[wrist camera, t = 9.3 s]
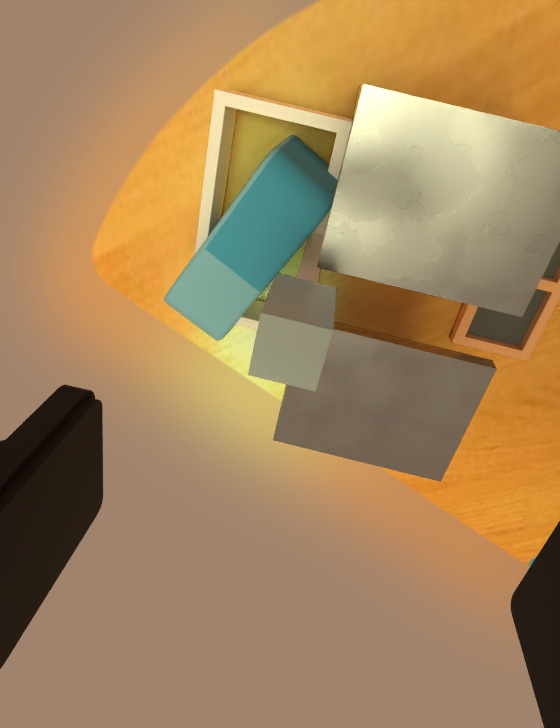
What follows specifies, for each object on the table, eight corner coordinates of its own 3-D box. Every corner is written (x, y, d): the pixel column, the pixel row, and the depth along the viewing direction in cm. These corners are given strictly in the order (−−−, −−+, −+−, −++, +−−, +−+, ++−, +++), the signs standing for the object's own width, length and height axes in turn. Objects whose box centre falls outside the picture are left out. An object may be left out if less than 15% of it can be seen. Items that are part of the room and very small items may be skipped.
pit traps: (601, 202, 36) (609, 206, 35) (523, 354, 43) (527, 361, 42) (515, 182, 37) (519, 184, 36) (449, 336, 43) (451, 342, 42)
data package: (247, 287, 43) (213, 350, 33) (205, 253, 42) (156, 307, 32) (341, 172, 38) (336, 204, 27) (294, 131, 37) (271, 148, 26)
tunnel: (513, 122, 35) (608, 142, 22) (415, 367, 45) (440, 481, 32) (359, 85, 35) (363, 83, 22) (296, 338, 45) (272, 440, 32)
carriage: (367, 122, 36) (382, 159, 17) (314, 323, 43) (284, 499, 25) (228, 89, 36) (90, 89, 17) (200, 295, 44) (86, 449, 25)
